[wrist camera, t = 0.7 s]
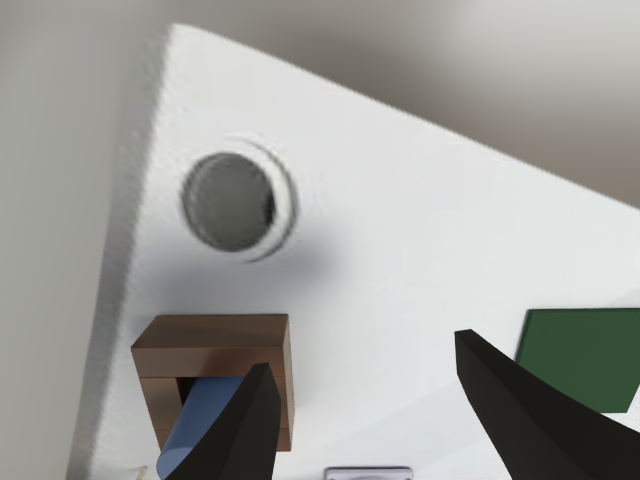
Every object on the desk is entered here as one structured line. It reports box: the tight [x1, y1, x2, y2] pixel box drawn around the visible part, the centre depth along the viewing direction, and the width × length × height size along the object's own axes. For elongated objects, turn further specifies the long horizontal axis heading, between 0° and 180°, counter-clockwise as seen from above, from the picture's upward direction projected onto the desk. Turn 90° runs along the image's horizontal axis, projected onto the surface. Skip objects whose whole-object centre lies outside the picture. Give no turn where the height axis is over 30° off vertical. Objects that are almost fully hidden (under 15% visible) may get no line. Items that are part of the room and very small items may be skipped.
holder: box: [131, 314, 295, 452], centre depth 24 cm, size 10×10×4 cm
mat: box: [516, 308, 640, 413], centre depth 25 cm, size 10×10×1 cm
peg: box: [156, 376, 245, 480], centre depth 21 cm, size 4×4×8 cm
